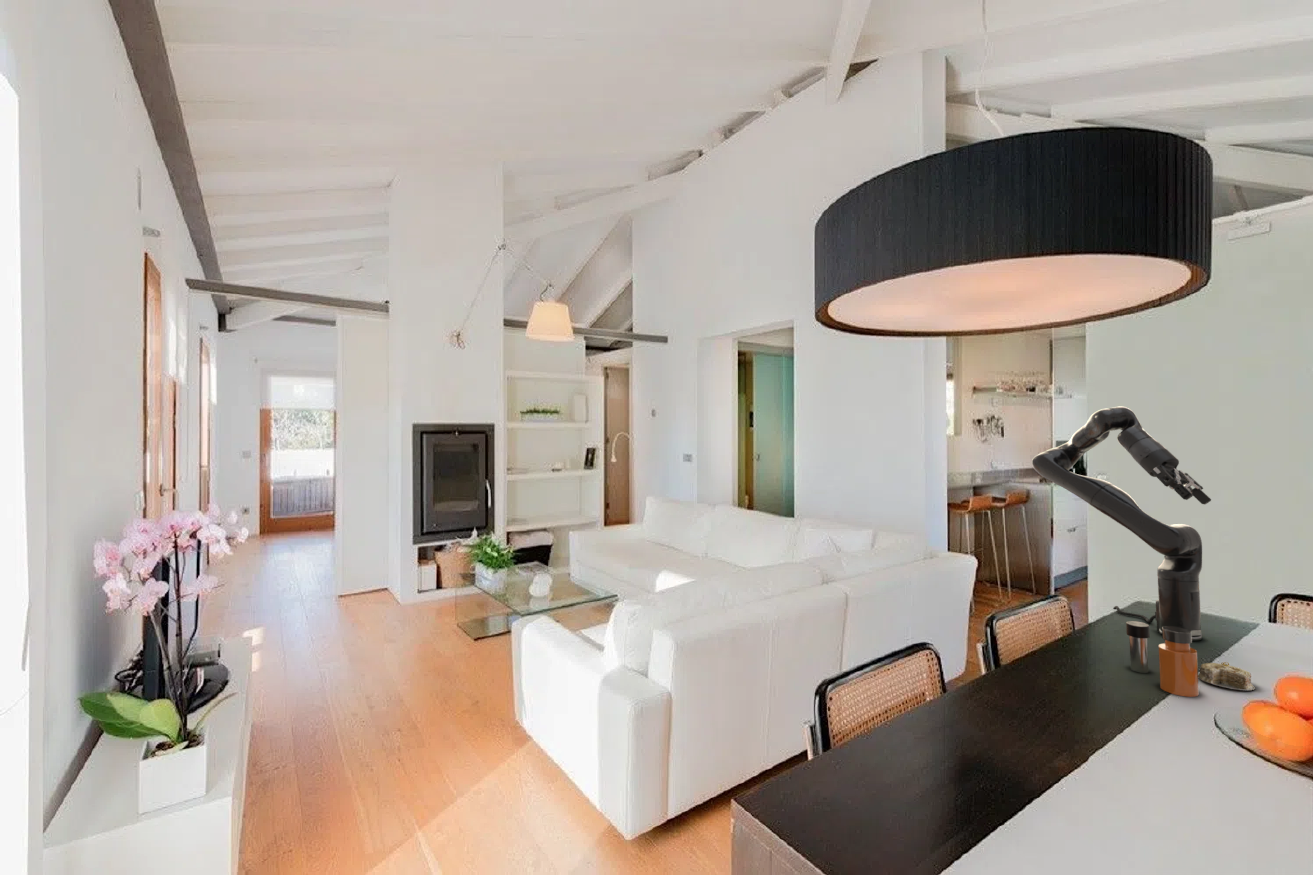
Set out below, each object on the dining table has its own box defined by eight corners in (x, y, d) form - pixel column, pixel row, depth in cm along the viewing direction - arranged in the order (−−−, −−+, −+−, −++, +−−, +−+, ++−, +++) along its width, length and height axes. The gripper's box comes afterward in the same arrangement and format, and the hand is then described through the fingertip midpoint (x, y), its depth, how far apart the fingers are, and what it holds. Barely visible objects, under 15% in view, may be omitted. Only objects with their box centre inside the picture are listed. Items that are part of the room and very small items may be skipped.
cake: (1190, 674, 146) (1189, 653, 146) (1243, 681, 142) (1241, 658, 142) (1207, 687, 137) (1206, 664, 137) (1264, 694, 133) (1263, 670, 133)
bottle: (1152, 685, 140) (1150, 625, 140) (1179, 683, 140) (1177, 624, 140) (1178, 697, 133) (1175, 634, 133) (1207, 696, 133) (1204, 633, 133)
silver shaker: (1123, 667, 151) (1121, 621, 151) (1140, 666, 151) (1138, 620, 151) (1138, 674, 146) (1136, 627, 146) (1156, 673, 146) (1154, 626, 146)
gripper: (1155, 469, 170) (1200, 512, 159) (1126, 461, 165) (1169, 505, 153) (1179, 452, 166) (1226, 495, 154) (1149, 443, 160) (1196, 486, 149)
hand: (1198, 500), depth 154 cm, fingers open, 8 cm apart
